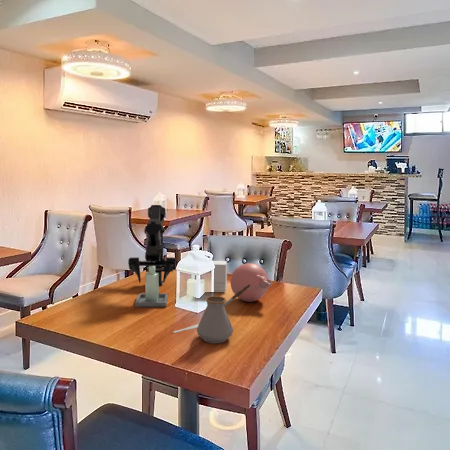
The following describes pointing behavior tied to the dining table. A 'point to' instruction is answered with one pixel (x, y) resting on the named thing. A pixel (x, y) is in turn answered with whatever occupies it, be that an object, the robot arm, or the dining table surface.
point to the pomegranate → (250, 282)
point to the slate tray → (142, 303)
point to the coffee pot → (217, 319)
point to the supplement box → (220, 276)
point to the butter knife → (187, 328)
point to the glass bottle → (152, 285)
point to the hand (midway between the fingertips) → (151, 282)
